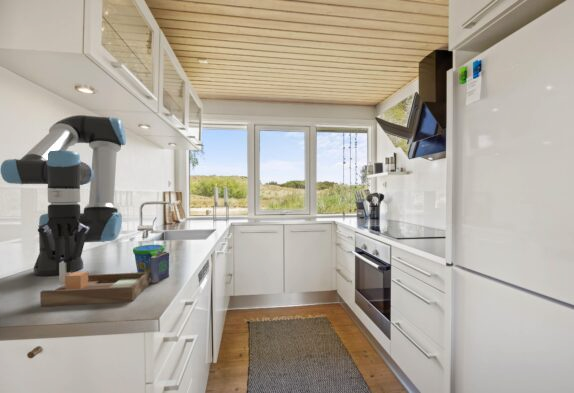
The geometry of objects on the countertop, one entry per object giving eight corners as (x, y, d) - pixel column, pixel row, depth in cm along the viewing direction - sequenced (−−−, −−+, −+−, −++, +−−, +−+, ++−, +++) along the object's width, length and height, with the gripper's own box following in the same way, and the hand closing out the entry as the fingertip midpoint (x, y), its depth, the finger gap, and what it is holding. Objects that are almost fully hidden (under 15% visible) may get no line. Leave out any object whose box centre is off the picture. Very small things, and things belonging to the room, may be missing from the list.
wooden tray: (73, 287, 90) (73, 275, 90) (149, 284, 94) (149, 272, 94) (40, 306, 75) (40, 291, 75) (132, 301, 79) (132, 287, 79)
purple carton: (155, 284, 94) (155, 252, 94) (147, 283, 94) (147, 252, 94) (170, 276, 103) (170, 247, 103) (163, 275, 103) (163, 246, 103)
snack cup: (168, 276, 102) (168, 248, 102) (136, 281, 96) (136, 252, 96) (160, 267, 115) (159, 242, 115) (130, 271, 109) (130, 245, 109)
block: (73, 285, 85) (73, 272, 85) (88, 284, 86) (88, 271, 86) (65, 289, 81) (65, 276, 81) (80, 289, 82) (80, 275, 82)
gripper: (29, 204, 78) (30, 288, 78) (81, 204, 80) (82, 286, 80) (48, 203, 85) (49, 280, 86) (95, 203, 87) (95, 278, 88)
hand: (65, 283), depth 83 cm, fingers closed
